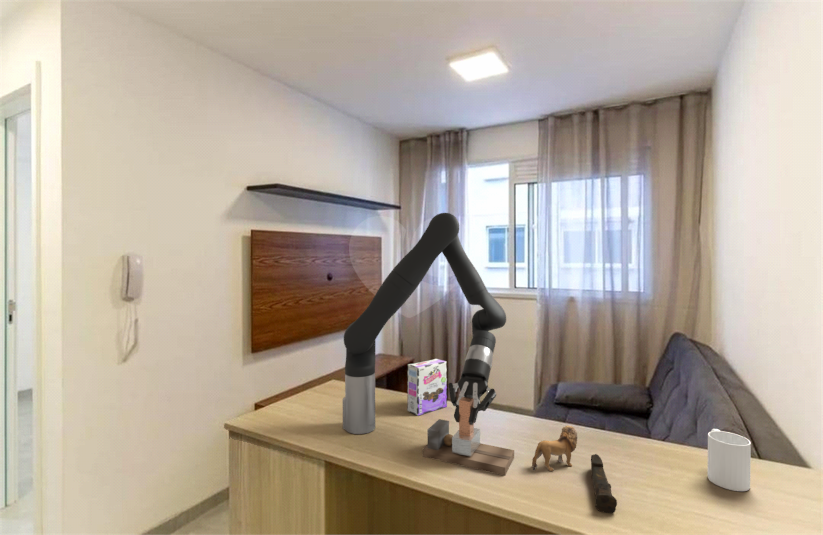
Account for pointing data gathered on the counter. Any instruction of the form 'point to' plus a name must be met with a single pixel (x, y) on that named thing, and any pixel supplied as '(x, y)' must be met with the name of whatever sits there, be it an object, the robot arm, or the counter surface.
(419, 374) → the candy box
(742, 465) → the mug
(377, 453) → the counter surface
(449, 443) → the hazelnut
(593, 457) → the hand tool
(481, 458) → the press base
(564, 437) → the lion figurine
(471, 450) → the block
